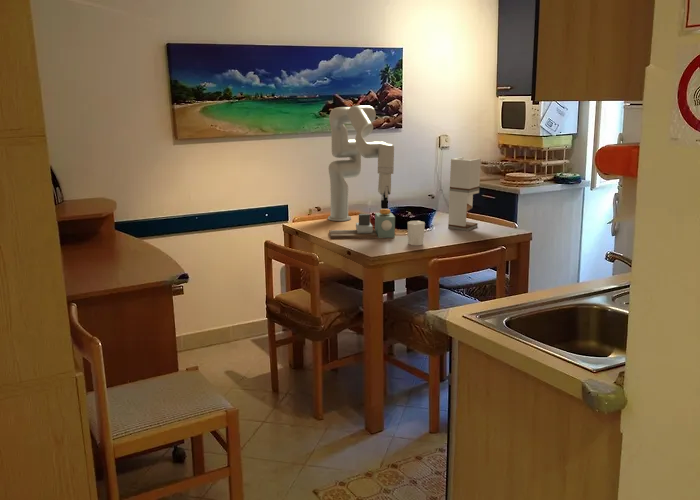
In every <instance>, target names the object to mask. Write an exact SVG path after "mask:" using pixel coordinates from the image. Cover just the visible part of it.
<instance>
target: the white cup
mask: <svg viewBox="0 0 700 500" xmlns="http://www.w3.org/2000/svg"><path fill="white" fill-rule="evenodd" d="M425 226H426V223H425V221H421V220H410V221H407V243H408V245H410V244H411V245H410V246H422V245H424V237H425V230H426V229H425Z"/></svg>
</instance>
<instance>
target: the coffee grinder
mask: <svg viewBox="0 0 700 500" xmlns="http://www.w3.org/2000/svg"><path fill="white" fill-rule="evenodd" d="M481 163H482V158H475V159H464V157H455V158H451V159H450V171H449V173H450V176H449V178H450V179H449V195H448V197H449V198H448V199H449V200H448V219H447V220H448V223H447V228H448V229H450V230H452V229H453V230H456V231H457V230H459V231H464V230H466V232H467V230H468V231H470V229H471V230H474V229H476V228H478V225H479V223H477V222H472V221H467V212H468V211H470V210H472V209H473V201H474V199H473V198H474V195H476V194H480V183H481ZM473 228H474V229H473Z"/></svg>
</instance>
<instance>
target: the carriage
mask: <svg viewBox="0 0 700 500" xmlns="http://www.w3.org/2000/svg"><path fill="white" fill-rule="evenodd" d="M373 227H374V226H373V224H372V223H371V215H370V213H358V222H355V230H357V233H372V231H373V230H374V229H373Z"/></svg>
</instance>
